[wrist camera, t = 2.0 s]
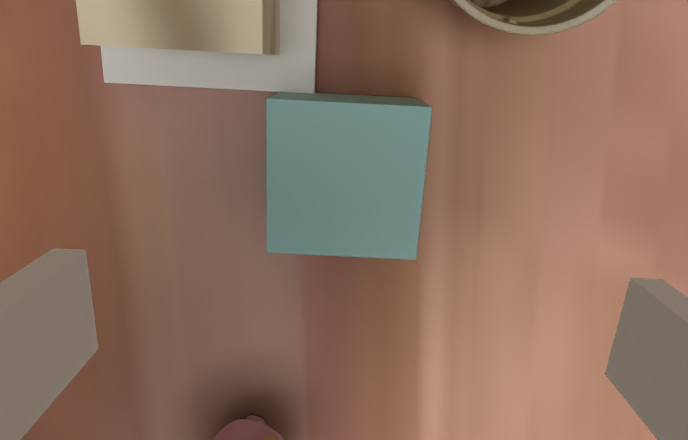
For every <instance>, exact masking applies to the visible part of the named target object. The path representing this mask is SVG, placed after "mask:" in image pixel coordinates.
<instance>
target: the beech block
mask: <svg viewBox="0 0 688 440" xmlns="http://www.w3.org/2000/svg"><path fill="white" fill-rule="evenodd" d="M76 5H77V14H78V23H79V31H80V40H81V44H82V45H101V46H119V47H138V48H156V49H174V50H193V51H211V52H230V53H248V54H267V55H280V0H76Z"/></svg>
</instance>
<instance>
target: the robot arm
mask: <svg viewBox="0 0 688 440" xmlns="http://www.w3.org/2000/svg"><path fill="white" fill-rule="evenodd" d="M98 349H99V348H98V341H97V333H96V325H95V318H94V310H93V302H92V295H91V287H90V279H89V272H88V264H87V256H86V250H80V249H61V248H53V249H51V250H50V251H48V252H47V253H45V254H44V255H42V256H41V257H39V258H38V259H36V260H35V261H33V262H31V263H30V264H28V265H27V266H25V267H24V268H22V269H21V270H19V271H18V272H16V273H15V274H13V275H11V276H10V277H8V278H7V279H5V280H4V281H2V282H1V283H0V440H21V439H22V438H23V436H24V435H25V434H26V433H27V432H28V431H29V429H30V428H31V427H32V426H33V425H34V424H35V422H36V421H37V420H38V419H39V418H40V417H41V415H42V414H43V413H44V412H45V411H46V410H47V408H48V407H49V406H50V405H51V404H52V403H53V401H54V400H55V399H56V398H57V397H58V396H59V394H60V393H61V392H62V391H63V390H64V388H65V387H66V386H67V385H68V384H69V383H70V381H71V380H72V379H73V378H74V377H75V376H76V374H77V373H78V372H79V371H80V370H81V369H82V367H83V366H84V365H85V364H86V363H87V362H88V360H89V359H90V358H91V357H92V356H93V355H94V353H95V352H96V351H97V350H98ZM605 375H606V376H607V377H608V379H609V380H610V381H611V382H612V384H613V385H614V386H615V387H616V388H617V390H618V391H619V392H620V393H621V395H622V396H623V397H624V398H625V400H626V401H627V402H628V403H629V405H630V406H631V407H632V408H633V410H634V411H635V412H636V413H637V415H638V416H639V417H640V418H641V420H642V421H643V422H644V423H645V425H646V426H647V427H648V428H649V430H650V431H651V432H652V433H653V435H654V436H655V437H656V438H657V440H688V298H687V297H686V296H685V295H683V294H682V293H680V292H679V291H678V290H676V289H675V288H673V287H672V286H671V285H669V284H668V283H666V282H665V281H664V280H662V279H646V278H630V282H629V285H628V289H627V293H626V297H625V300H624V304H623V308H622V312H621V315H620V319H619V323H618V327H617V330H616V334H615V338H614V342H613V345H612V349H611V353H610V357H609V360H608V364H607V368H606V372H605Z"/></svg>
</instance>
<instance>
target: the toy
mask: <svg viewBox="0 0 688 440" xmlns="http://www.w3.org/2000/svg"><path fill="white" fill-rule="evenodd" d="M213 440H283V437H282V436H281V435H280V434H279V433H277V432H276V431H275V430H273V429H271V428H270V427H268V426H266V423H265V420H264V419H263V418H261V417H258V416H256V415H249V416H248V417H247V418H246V419H239V420H235V421H233V422H231V423H229V424H228V425H226V426H225V427H224V428H223V429H222V430H221V431H219V433H218V434H217V435H216V436H215V437H214V439H213Z"/></svg>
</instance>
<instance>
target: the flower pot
mask: <svg viewBox="0 0 688 440" xmlns="http://www.w3.org/2000/svg"><path fill="white" fill-rule="evenodd" d="M448 1H449V2H450V3H452V4H453V5H455V6H457V7H459V8H461V9H462V10H463V11H464V12H465V13H467V14H468V15H469V16H471V17H472V18H474V19H476V20H477V21H478V22H480V23H482V24H484V25H486V26H488V27H491V28H493V29H496V30H499V31H503V32H507V33H511V34H518V35H545V34H552V33H558V32H561V31H564V30H567V29H570V28H573V27H576V26H578V25H580V24H583V23H585V22H587V21H589V20H591V19H592V18H594V17H596V16H598V15H599V14H600V13H602V12H603V11H605V10H606V9H607V8H609V7H610V6H611V5H612V4H613V3H615V2H616V1H617V0H472V2H471V1H470V0H448Z"/></svg>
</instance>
